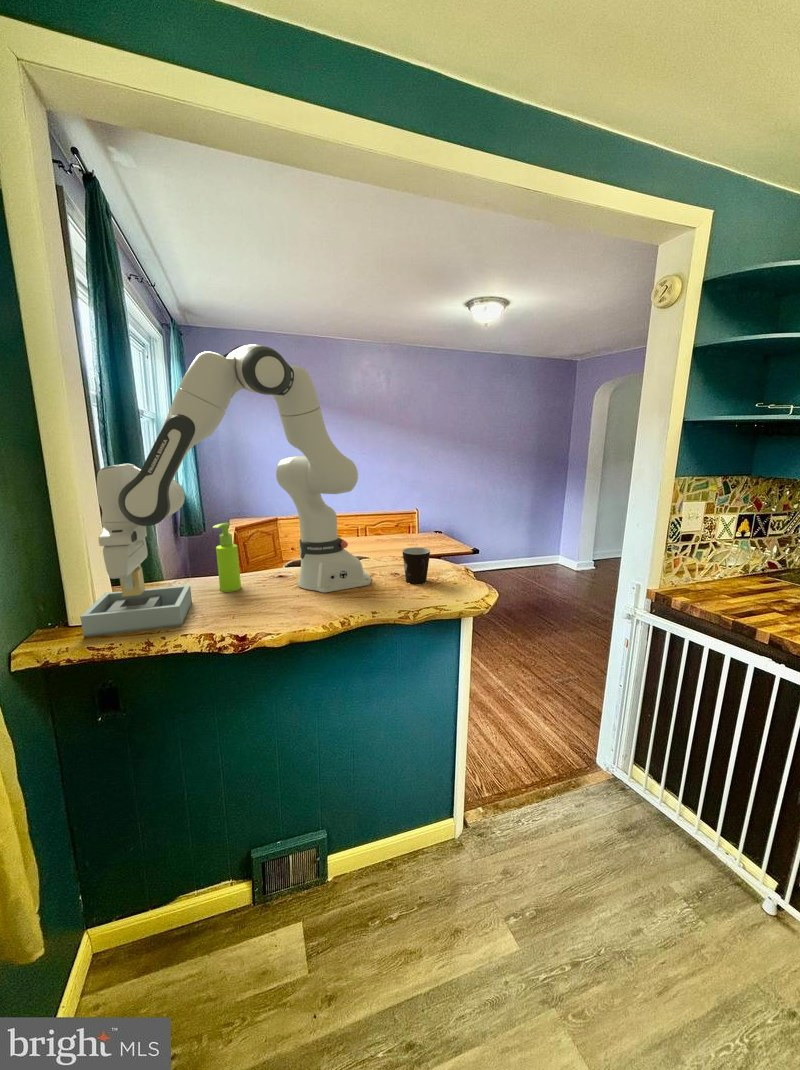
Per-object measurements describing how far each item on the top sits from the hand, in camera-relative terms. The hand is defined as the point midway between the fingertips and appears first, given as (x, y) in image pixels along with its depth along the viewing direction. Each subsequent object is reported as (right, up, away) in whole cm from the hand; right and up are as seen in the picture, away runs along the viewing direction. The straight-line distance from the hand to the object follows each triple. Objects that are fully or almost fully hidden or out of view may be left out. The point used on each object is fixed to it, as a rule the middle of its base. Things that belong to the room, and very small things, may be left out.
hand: (133, 585), depth 106 cm
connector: (0, -2, 0) cm, 2 cm away
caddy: (+3, -8, 0) cm, 9 cm away
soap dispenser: (+16, -4, +21) cm, 26 cm away
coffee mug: (+72, -3, +26) cm, 76 cm away
